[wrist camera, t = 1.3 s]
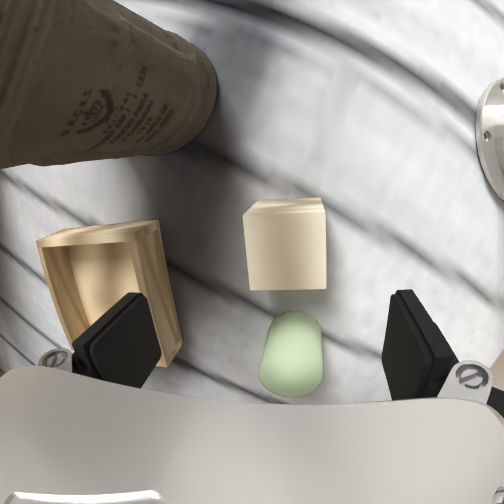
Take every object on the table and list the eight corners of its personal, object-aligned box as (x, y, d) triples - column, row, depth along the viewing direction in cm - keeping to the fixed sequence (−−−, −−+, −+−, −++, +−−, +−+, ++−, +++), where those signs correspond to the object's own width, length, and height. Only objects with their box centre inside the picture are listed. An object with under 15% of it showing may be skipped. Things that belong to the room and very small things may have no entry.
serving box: (158, 219, 26) (134, 232, 22) (183, 342, 30) (167, 367, 26) (62, 229, 28) (36, 241, 24) (91, 331, 32) (71, 349, 28)
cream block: (320, 197, 23) (325, 212, 17) (322, 257, 24) (326, 289, 19) (257, 200, 24) (242, 215, 18) (262, 259, 25) (250, 290, 20)
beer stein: (252, 74, 20) (67, -87, 2) (182, 183, 24) (-58, 247, 6) (126, 21, 21) (-34, -41, 2) (77, 110, 25) (-95, 111, 6)
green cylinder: (322, 310, 26) (324, 350, 20) (320, 354, 28) (321, 397, 22) (266, 311, 27) (256, 350, 21) (270, 354, 28) (261, 396, 23)
